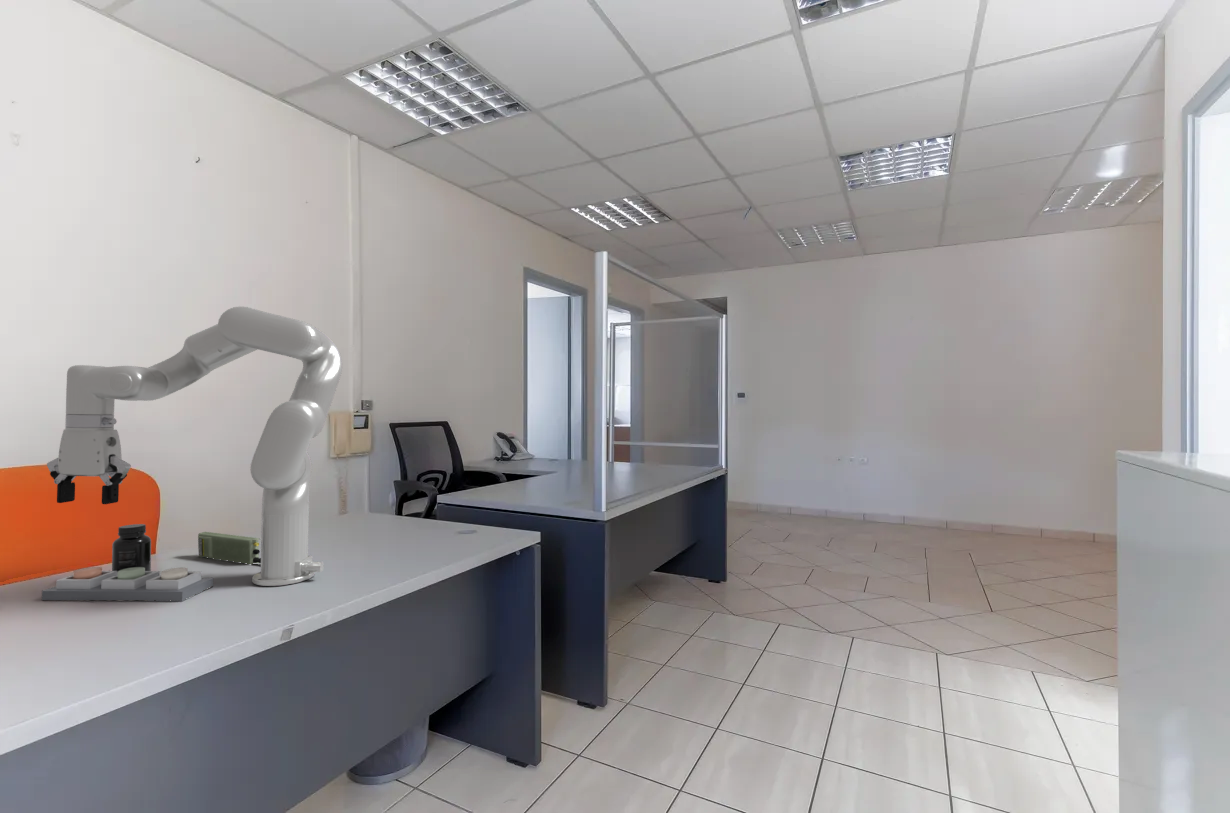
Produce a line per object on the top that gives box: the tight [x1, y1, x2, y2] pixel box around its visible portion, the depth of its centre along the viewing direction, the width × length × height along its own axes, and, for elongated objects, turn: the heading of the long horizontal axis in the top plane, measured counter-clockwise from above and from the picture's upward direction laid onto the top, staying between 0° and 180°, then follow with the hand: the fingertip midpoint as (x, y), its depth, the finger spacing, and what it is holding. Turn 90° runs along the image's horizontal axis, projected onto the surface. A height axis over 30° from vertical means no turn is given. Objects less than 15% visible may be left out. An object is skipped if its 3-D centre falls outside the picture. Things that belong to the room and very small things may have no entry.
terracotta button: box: [72, 566, 103, 579], centre depth 116 cm, size 4×4×2 cm
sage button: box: [117, 567, 145, 580], centre depth 116 cm, size 4×4×2 cm
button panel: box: [41, 570, 214, 602], centre depth 116 cm, size 28×9×4 cm, turn 92°
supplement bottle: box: [111, 523, 152, 574], centre depth 127 cm, size 7×7×12 cm
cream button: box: [160, 567, 189, 580], centre depth 117 cm, size 4×4×2 cm
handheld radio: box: [197, 531, 261, 565], centre depth 141 cm, size 7×3×25 cm
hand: (87, 502), depth 117 cm, fingers open, 9 cm apart
